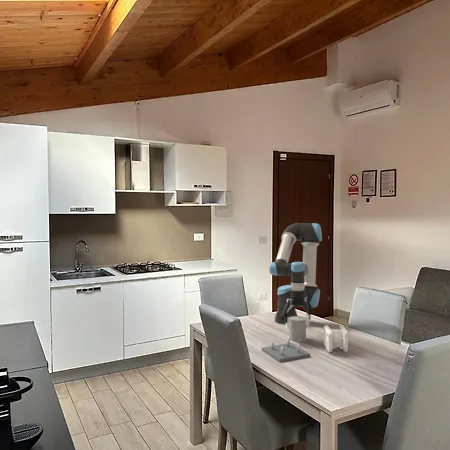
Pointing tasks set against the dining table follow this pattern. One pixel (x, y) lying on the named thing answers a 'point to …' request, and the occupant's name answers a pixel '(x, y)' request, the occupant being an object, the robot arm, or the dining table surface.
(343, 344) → the cable organizer
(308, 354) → the pin tray
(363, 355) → the dining table surface
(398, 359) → the dining table surface
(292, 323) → the gray cylinder
